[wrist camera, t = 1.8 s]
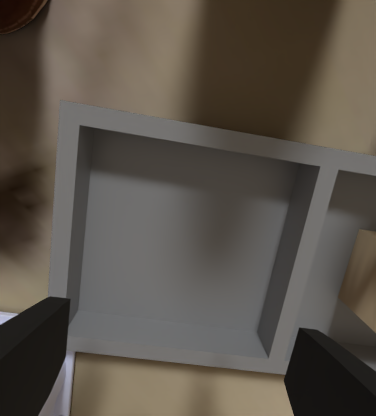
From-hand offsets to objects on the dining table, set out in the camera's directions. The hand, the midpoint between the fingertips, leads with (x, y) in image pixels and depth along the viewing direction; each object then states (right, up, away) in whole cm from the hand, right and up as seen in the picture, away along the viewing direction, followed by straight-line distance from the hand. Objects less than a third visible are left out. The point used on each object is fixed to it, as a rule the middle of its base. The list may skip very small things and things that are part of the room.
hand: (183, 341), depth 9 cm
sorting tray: (+6, +1, +10) cm, 12 cm away
